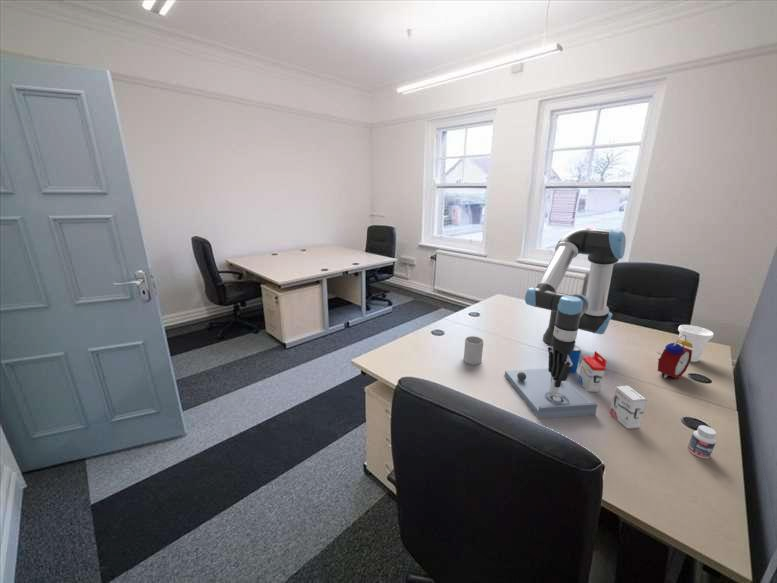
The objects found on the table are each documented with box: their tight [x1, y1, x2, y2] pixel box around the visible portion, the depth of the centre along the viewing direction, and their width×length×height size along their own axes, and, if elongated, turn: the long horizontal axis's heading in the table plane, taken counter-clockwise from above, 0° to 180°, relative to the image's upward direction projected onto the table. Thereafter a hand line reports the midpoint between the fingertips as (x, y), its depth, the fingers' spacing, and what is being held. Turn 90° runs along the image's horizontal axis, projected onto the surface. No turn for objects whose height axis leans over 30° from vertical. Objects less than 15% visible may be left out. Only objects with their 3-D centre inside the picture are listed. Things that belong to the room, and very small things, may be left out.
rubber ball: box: [517, 372, 526, 381], centre depth 135 cm, size 4×4×4 cm
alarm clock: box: [657, 335, 693, 379], centre depth 142 cm, size 15×9×20 cm, turn 117°
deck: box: [504, 367, 598, 419], centre depth 130 cm, size 28×22×4 cm
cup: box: [677, 324, 715, 363], centre depth 156 cm, size 12×12×15 cm
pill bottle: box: [687, 424, 717, 459], centre depth 101 cm, size 5×5×9 cm
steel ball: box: [552, 396, 562, 403], centre depth 124 cm, size 4×4×4 cm
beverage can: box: [569, 345, 582, 375], centre depth 145 cm, size 6×6×12 cm
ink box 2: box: [577, 351, 607, 393], centre depth 134 cm, size 8×5×15 cm, turn 178°
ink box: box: [609, 385, 648, 429], centre depth 114 cm, size 9×5×12 cm, turn 5°
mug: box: [463, 335, 484, 366], centre depth 156 cm, size 12×8×11 cm
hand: (553, 392), depth 126 cm, fingers closed
